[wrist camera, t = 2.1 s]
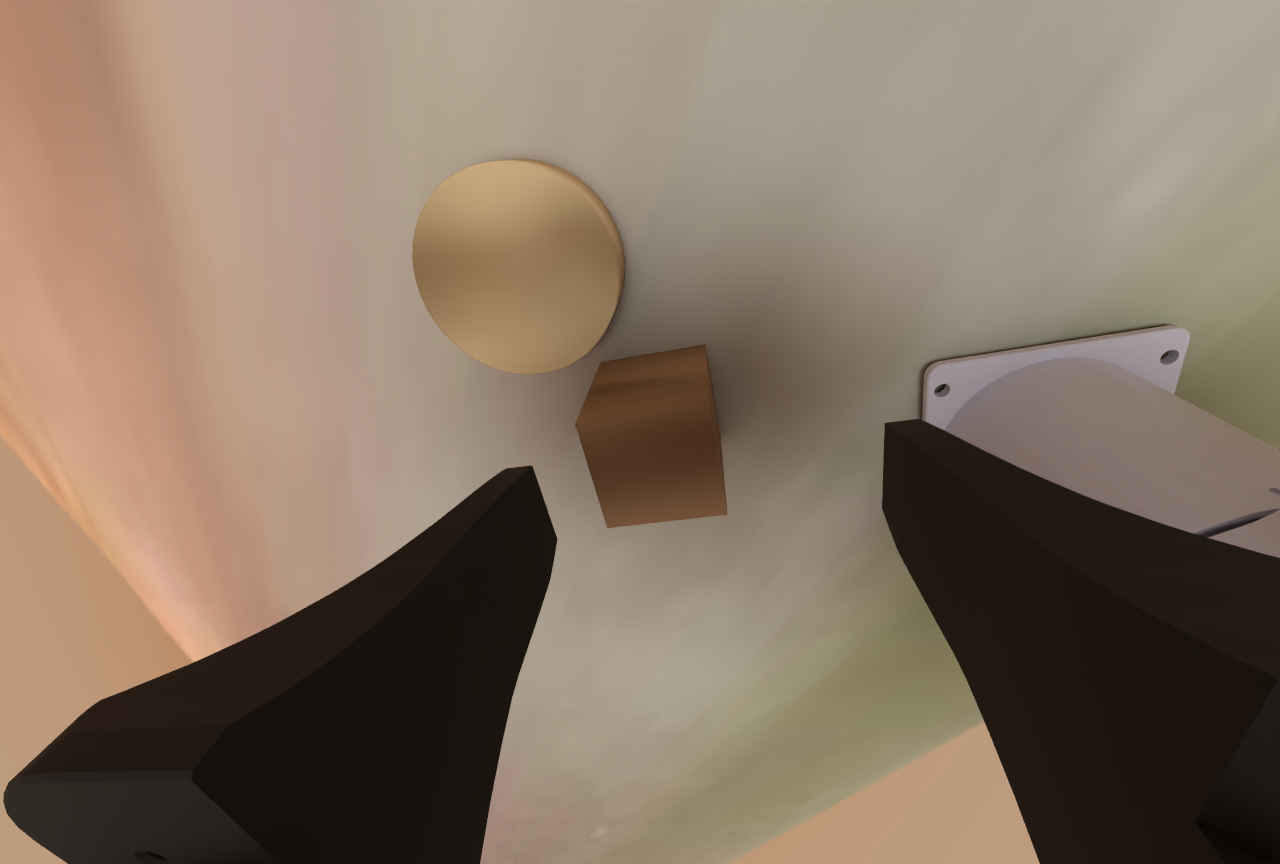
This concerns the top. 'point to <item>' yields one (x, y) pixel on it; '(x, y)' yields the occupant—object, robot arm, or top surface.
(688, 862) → the top surface
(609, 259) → the maple plinth
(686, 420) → the walnut block
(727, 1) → the top surface
